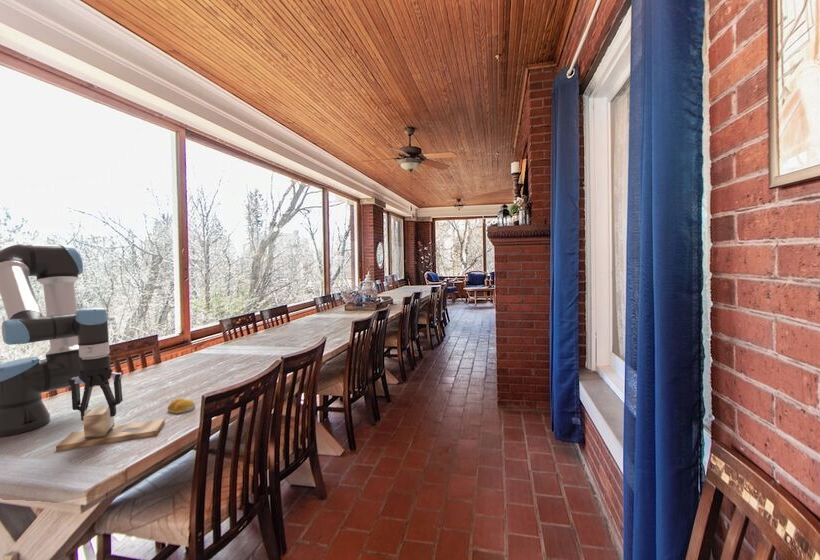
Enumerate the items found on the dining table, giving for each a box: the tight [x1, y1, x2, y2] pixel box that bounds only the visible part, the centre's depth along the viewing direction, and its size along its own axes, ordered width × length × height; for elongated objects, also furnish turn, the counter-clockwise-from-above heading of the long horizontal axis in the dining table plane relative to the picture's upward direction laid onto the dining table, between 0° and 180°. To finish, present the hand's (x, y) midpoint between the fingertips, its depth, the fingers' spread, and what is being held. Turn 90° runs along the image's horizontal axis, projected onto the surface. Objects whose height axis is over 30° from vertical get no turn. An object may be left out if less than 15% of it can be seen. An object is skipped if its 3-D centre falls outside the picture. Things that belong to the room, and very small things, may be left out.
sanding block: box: [82, 405, 115, 439], centre depth 122 cm, size 5×8×7 cm, turn 20°
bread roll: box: [167, 398, 195, 414], centre depth 145 cm, size 8×9×4 cm
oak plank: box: [55, 418, 166, 452], centre depth 124 cm, size 26×10×2 cm, turn 111°
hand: (99, 427), depth 122 cm, fingers closed on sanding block, 5 cm apart
